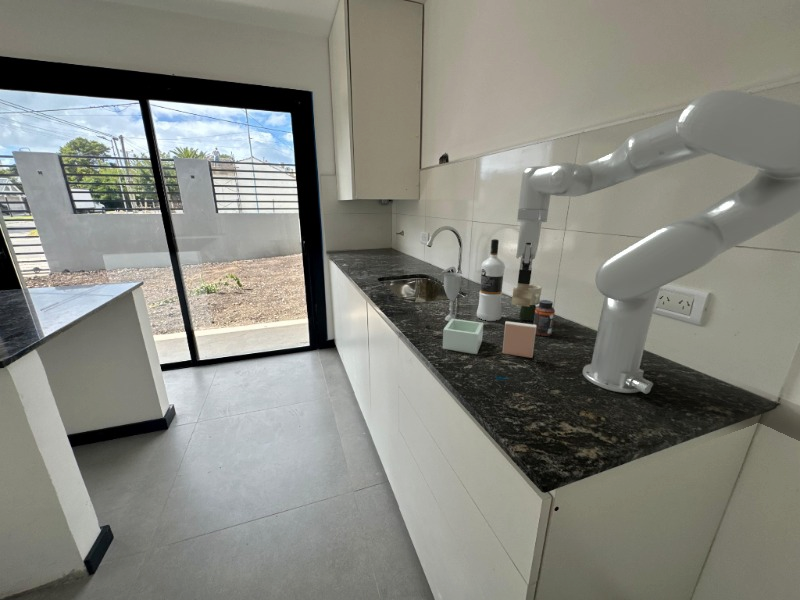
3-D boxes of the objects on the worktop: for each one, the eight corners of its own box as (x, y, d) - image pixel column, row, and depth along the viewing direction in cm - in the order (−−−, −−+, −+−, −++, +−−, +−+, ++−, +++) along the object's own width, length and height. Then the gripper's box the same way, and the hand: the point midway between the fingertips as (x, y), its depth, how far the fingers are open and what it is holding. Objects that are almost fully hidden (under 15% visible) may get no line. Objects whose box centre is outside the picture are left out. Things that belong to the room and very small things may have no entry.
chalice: (437, 319, 119) (439, 273, 114) (452, 317, 122) (454, 271, 117) (448, 326, 113) (450, 277, 108) (463, 323, 116) (466, 275, 111)
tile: (532, 358, 89) (536, 325, 86) (532, 361, 87) (536, 327, 84) (502, 353, 92) (505, 321, 89) (501, 356, 90) (505, 323, 87)
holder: (481, 343, 98) (483, 322, 96) (476, 357, 89) (478, 334, 88) (450, 339, 102) (451, 318, 100) (442, 351, 93) (443, 329, 91)
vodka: (505, 321, 118) (513, 240, 110) (481, 322, 117) (488, 240, 108) (494, 313, 127) (501, 238, 118) (472, 314, 126) (478, 238, 117)
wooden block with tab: (529, 304, 93) (536, 257, 89) (529, 307, 90) (536, 259, 86) (511, 302, 95) (517, 256, 91) (511, 305, 92) (517, 257, 88)
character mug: (544, 324, 115) (548, 289, 111) (526, 325, 114) (530, 290, 110) (528, 314, 125) (532, 282, 122) (511, 315, 124) (515, 283, 121)
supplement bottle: (554, 336, 104) (559, 304, 100) (536, 336, 104) (540, 304, 101) (547, 330, 109) (551, 298, 106) (529, 330, 109) (533, 298, 106)
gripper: (518, 215, 94) (512, 275, 99) (516, 216, 79) (508, 287, 85) (546, 215, 91) (537, 277, 96) (548, 217, 76) (538, 290, 82)
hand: (523, 281), depth 90 cm, fingers closed on wooden block with tab, 3 cm apart
